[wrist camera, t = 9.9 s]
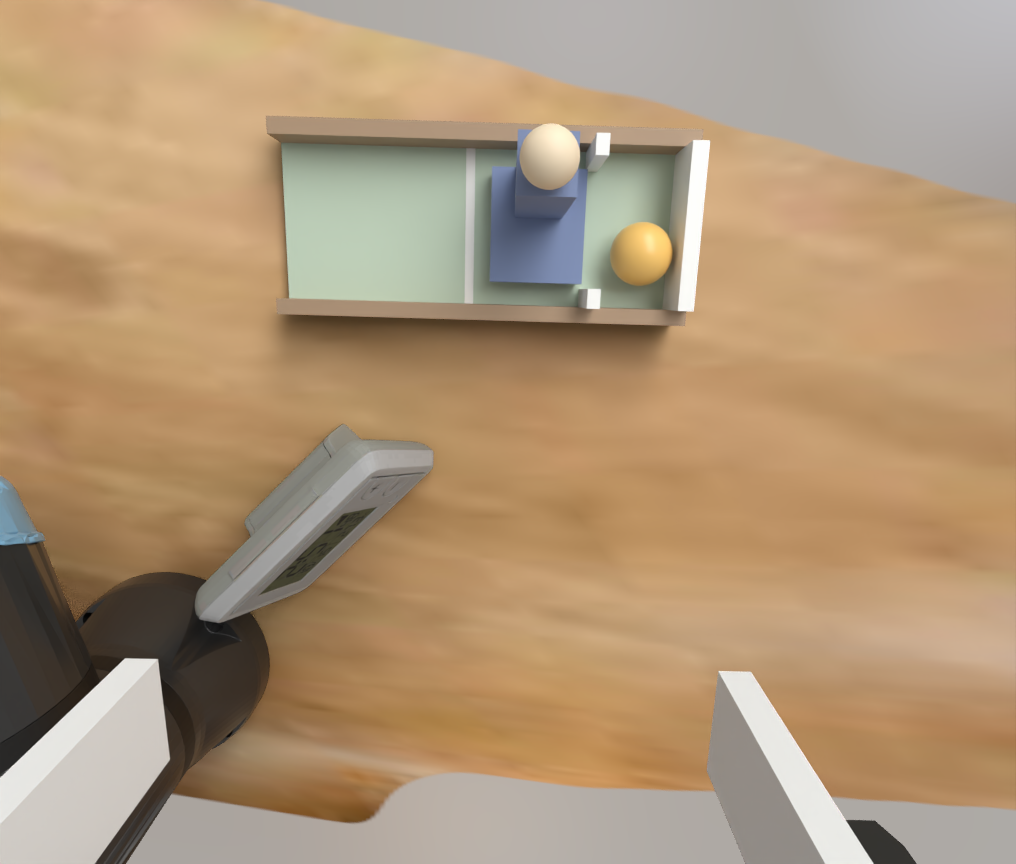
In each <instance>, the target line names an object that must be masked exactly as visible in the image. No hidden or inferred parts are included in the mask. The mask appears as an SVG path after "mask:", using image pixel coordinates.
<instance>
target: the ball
mask: <svg viewBox="0 0 1016 864" xmlns="http://www.w3.org/2000/svg"><path fill="white" fill-rule="evenodd" d="M672 255H673V249H672V244H671V241H670V238H669V236H668V235H667V233H666V232H665V231H664V230H663V229H662V228H660V227H659V226H657V225H655V224H653V223H649V222H638V223H634V224H631V225H629V226H627V227H625V228H624V229H623V230H621V231H620V232H619V233H618V235H617V236H616V237H615V239H614V241H613V243H612V246H611V250H610V262H611V266H612V268H613V270H614V272H615V274H616V275H617V276H618V277H619V278H620V279H621V280H622V281H624V282H626V283H628V284H630V285H634V286H644V285H648V284H651V283H654V282H655V281H657V280H659V279H660V278H661V277H662V276H663V275H664V274H665V273H666V271H667V270H668V268H669V266H670V264H671V261H672Z"/></svg>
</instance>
